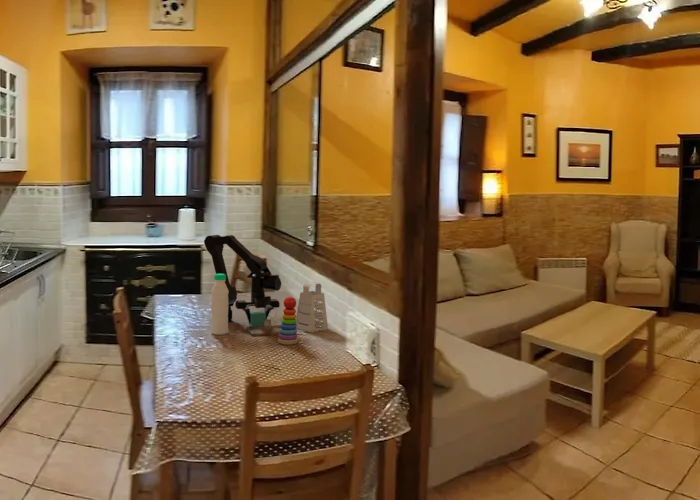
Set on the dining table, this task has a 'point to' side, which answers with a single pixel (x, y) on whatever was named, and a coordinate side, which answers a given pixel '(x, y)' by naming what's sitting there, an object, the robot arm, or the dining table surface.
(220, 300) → the water bottle
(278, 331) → the keyed post base
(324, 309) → the grater
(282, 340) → the stacking toy
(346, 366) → the dining table surface
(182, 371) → the dining table surface
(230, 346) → the dining table surface
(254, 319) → the teal drawer cube
